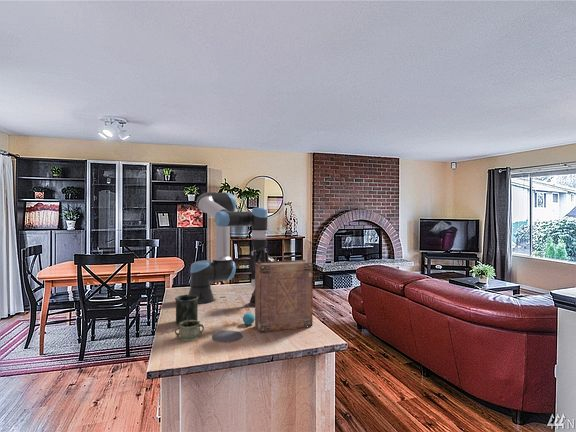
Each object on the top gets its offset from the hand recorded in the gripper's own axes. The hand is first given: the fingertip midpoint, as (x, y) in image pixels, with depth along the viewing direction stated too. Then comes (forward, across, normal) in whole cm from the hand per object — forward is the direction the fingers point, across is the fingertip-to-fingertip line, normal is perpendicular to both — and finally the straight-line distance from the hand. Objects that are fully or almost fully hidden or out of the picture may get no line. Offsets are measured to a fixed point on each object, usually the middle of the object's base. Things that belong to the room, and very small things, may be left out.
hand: (259, 283), depth 169 cm
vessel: (+18, -35, +14) cm, 42 cm away
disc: (+17, -26, 0) cm, 32 cm away
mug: (+18, -22, +27) cm, 39 cm away
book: (+18, -5, -16) cm, 24 cm away
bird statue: (+18, +26, +12) cm, 33 cm away
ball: (+15, -10, 0) cm, 18 cm away
